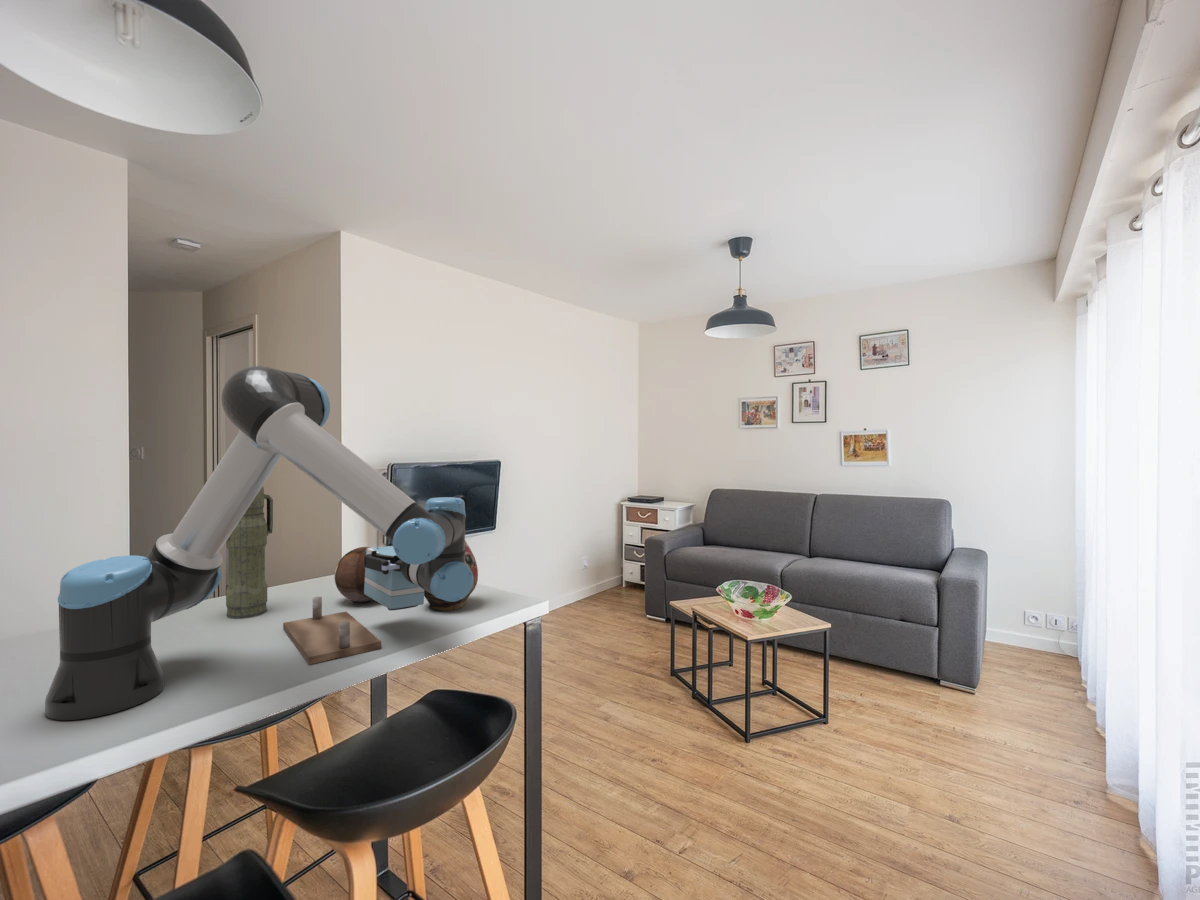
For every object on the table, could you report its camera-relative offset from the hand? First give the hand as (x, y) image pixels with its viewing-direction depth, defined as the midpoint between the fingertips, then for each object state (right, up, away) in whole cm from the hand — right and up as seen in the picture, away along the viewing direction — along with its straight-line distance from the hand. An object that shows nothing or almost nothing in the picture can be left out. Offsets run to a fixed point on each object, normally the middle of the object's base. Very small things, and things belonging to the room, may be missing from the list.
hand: (389, 551), depth 132 cm
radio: (+3, -11, -3) cm, 12 cm away
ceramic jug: (+10, -18, +17) cm, 27 cm away
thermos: (-40, -18, +9) cm, 45 cm away
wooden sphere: (-15, -18, +21) cm, 31 cm away
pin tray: (-10, -18, -9) cm, 22 cm away
